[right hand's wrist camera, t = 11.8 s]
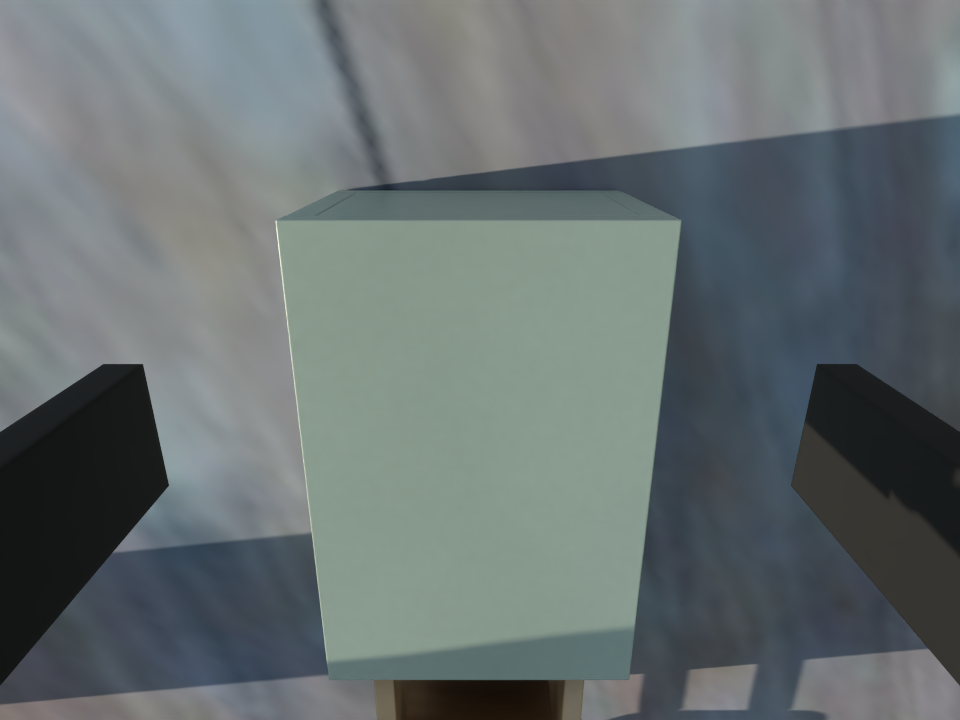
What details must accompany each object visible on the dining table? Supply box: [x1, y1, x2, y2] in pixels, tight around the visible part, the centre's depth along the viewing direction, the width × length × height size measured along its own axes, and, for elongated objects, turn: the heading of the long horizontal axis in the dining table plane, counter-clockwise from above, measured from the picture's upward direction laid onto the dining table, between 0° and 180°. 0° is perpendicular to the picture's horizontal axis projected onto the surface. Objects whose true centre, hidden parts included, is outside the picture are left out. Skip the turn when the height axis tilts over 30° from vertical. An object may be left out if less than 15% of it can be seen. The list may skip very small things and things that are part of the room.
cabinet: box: [275, 190, 682, 680], centre depth 24 cm, size 17×11×8 cm, turn 0°
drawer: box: [374, 680, 584, 720], centre depth 28 cm, size 21×10×6 cm, turn 0°
